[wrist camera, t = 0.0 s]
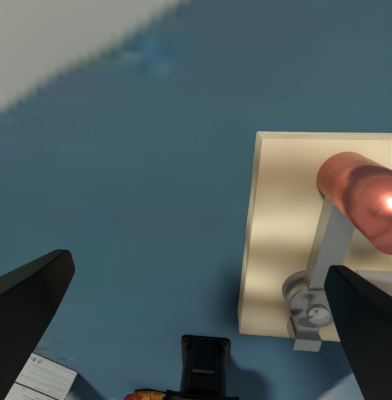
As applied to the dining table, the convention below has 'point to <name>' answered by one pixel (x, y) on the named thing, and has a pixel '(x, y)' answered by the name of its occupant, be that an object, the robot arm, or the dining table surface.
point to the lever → (339, 237)
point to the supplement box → (42, 381)
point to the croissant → (145, 395)
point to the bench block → (297, 224)
